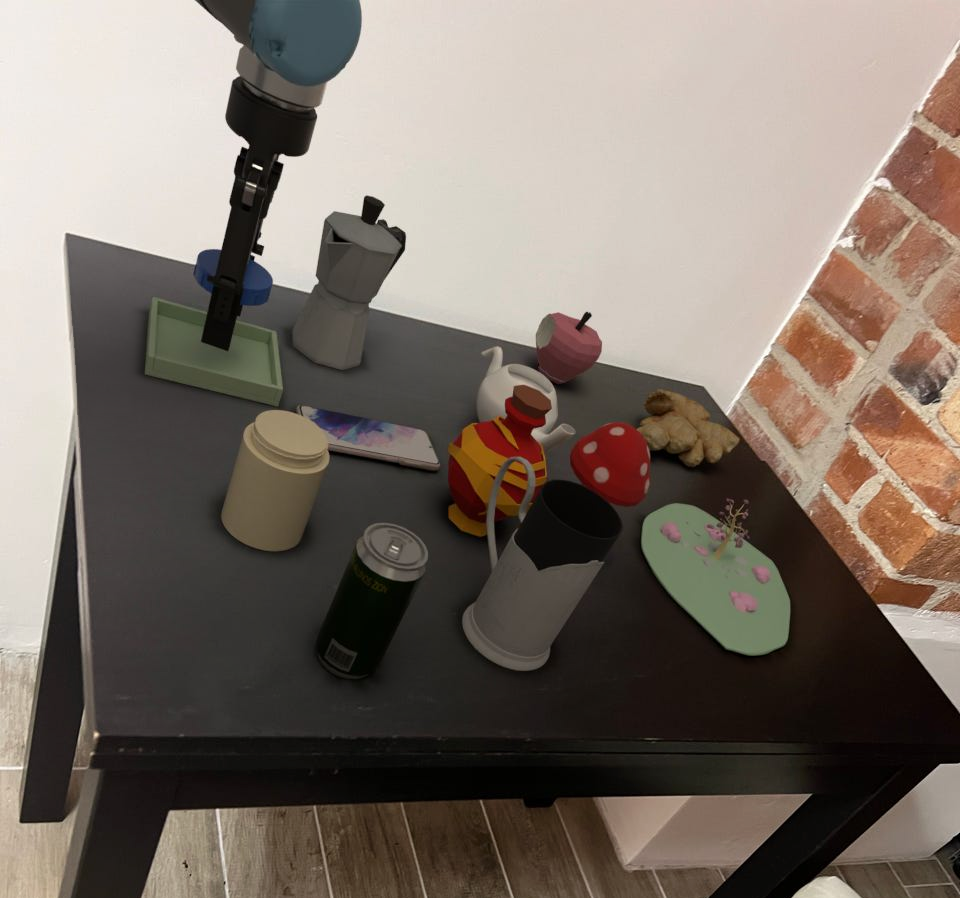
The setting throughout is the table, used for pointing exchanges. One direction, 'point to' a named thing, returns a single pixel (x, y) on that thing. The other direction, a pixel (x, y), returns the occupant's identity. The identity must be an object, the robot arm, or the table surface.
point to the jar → (275, 480)
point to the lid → (254, 282)
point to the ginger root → (684, 429)
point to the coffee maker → (347, 285)
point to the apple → (566, 346)
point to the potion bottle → (497, 461)
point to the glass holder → (539, 570)
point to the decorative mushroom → (613, 463)
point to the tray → (212, 355)
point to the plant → (718, 577)
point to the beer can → (371, 600)
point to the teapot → (501, 388)
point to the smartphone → (374, 438)
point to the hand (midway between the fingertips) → (221, 327)
